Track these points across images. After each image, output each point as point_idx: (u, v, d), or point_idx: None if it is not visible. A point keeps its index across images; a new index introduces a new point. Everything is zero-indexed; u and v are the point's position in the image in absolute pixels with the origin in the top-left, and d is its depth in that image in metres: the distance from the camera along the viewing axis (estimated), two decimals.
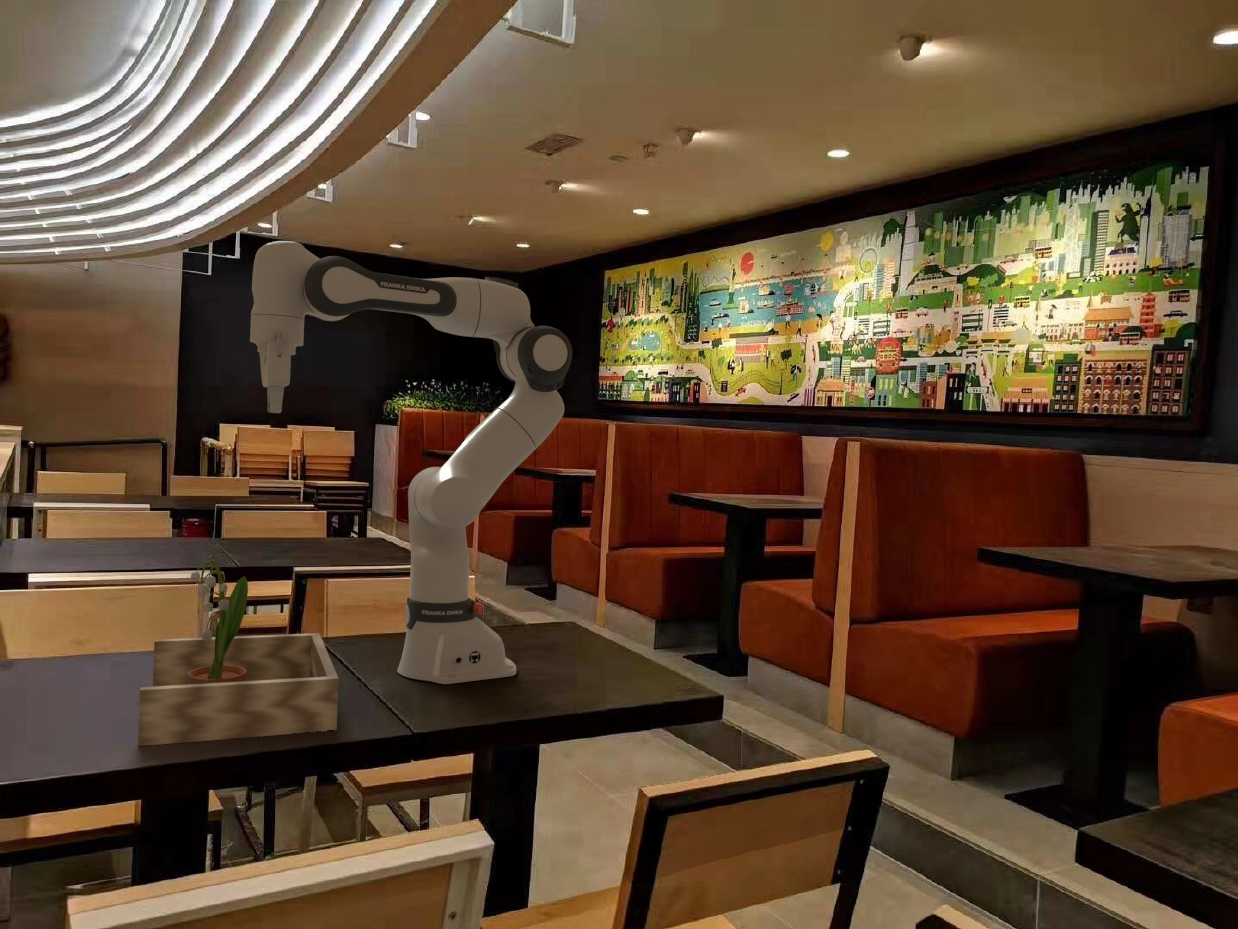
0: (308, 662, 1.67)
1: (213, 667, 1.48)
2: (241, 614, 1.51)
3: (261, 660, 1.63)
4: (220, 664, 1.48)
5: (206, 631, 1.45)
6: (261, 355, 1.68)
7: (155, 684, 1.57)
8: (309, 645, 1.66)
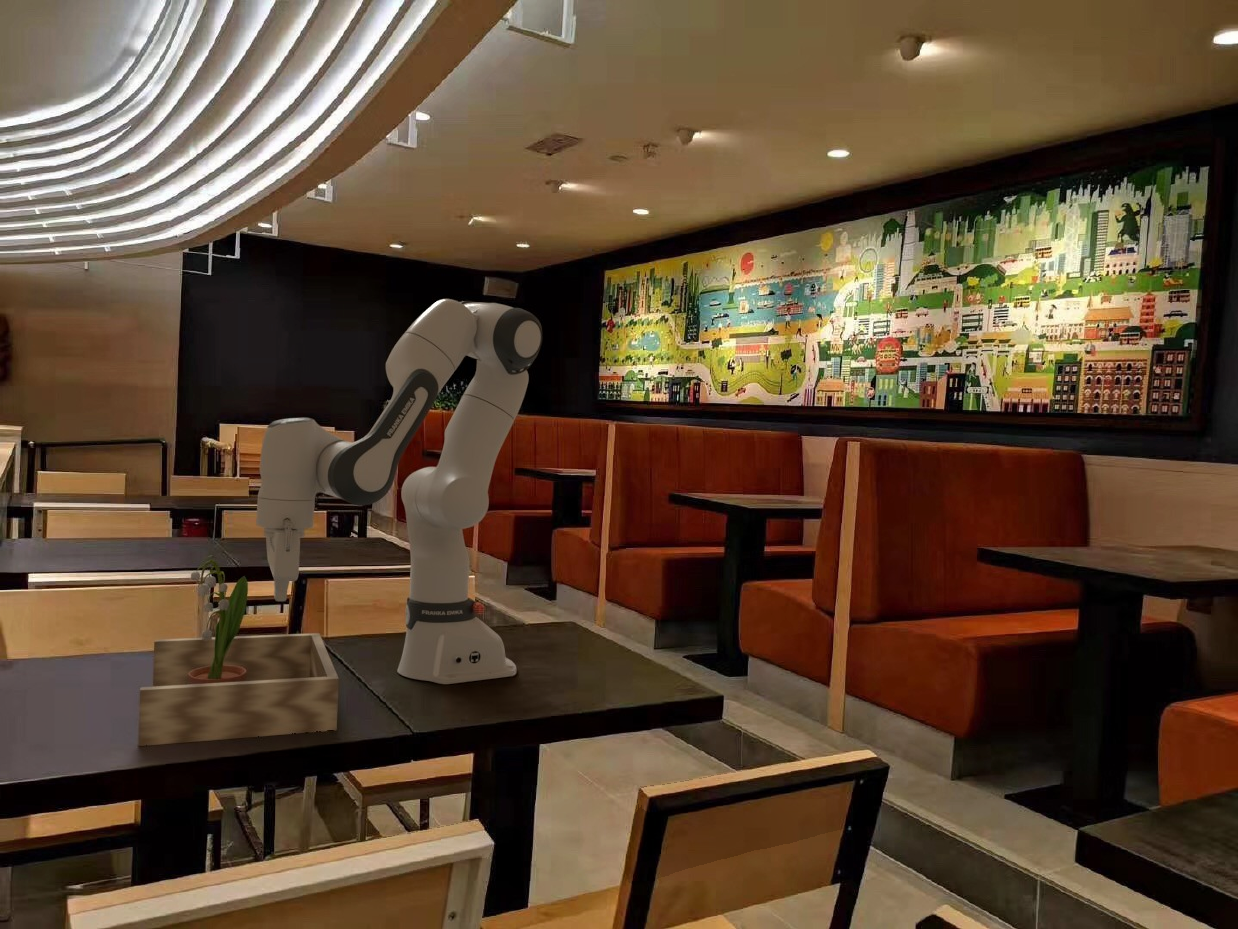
0: (308, 662, 1.67)
1: (213, 667, 1.48)
2: (241, 614, 1.51)
3: (261, 660, 1.63)
4: (220, 664, 1.48)
5: (206, 631, 1.45)
6: None
7: (155, 684, 1.57)
8: (309, 645, 1.66)
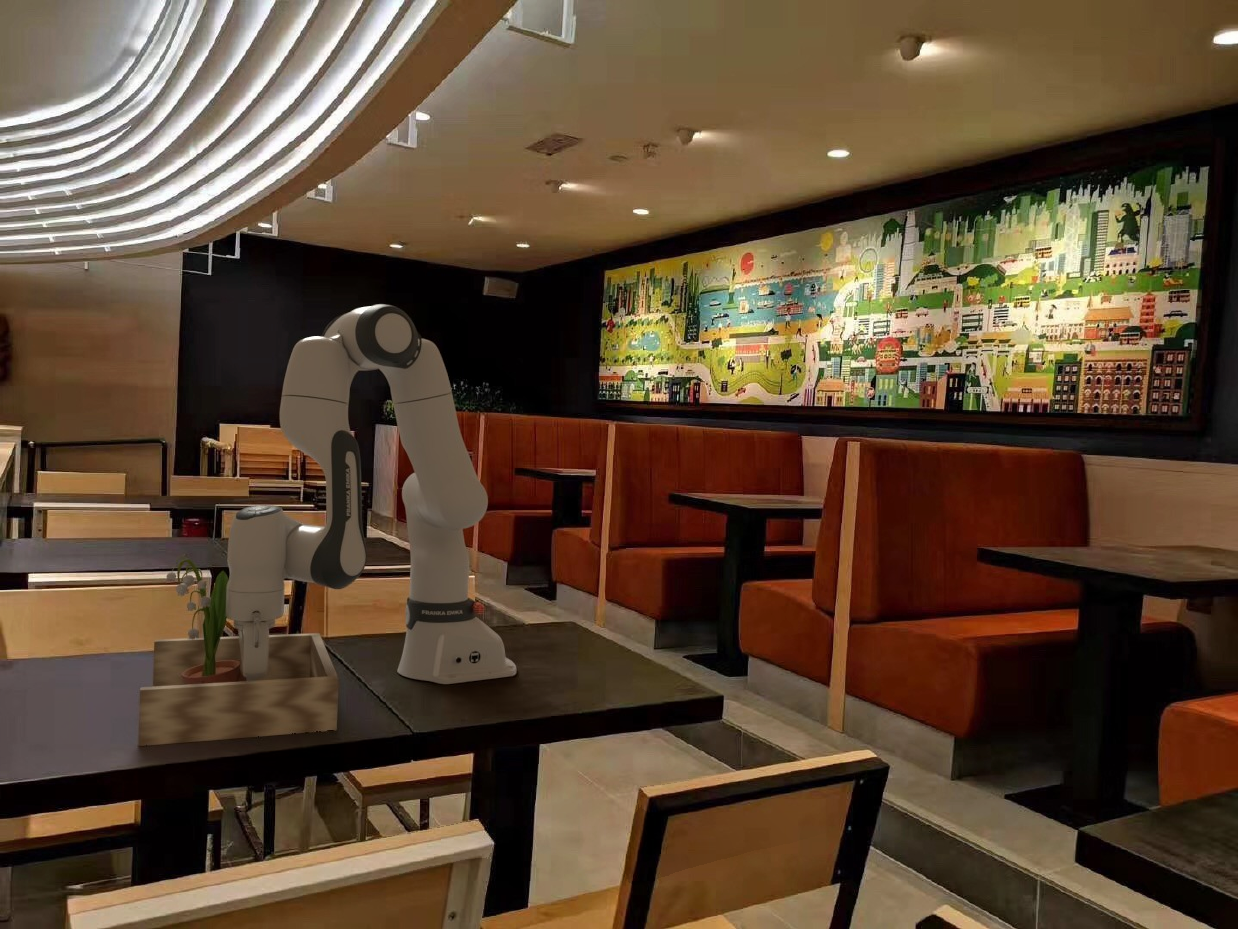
0: (308, 662, 1.67)
1: (206, 664, 1.47)
2: None
3: None
4: (212, 660, 1.48)
5: (192, 630, 1.44)
6: None
7: (155, 684, 1.57)
8: (309, 645, 1.66)
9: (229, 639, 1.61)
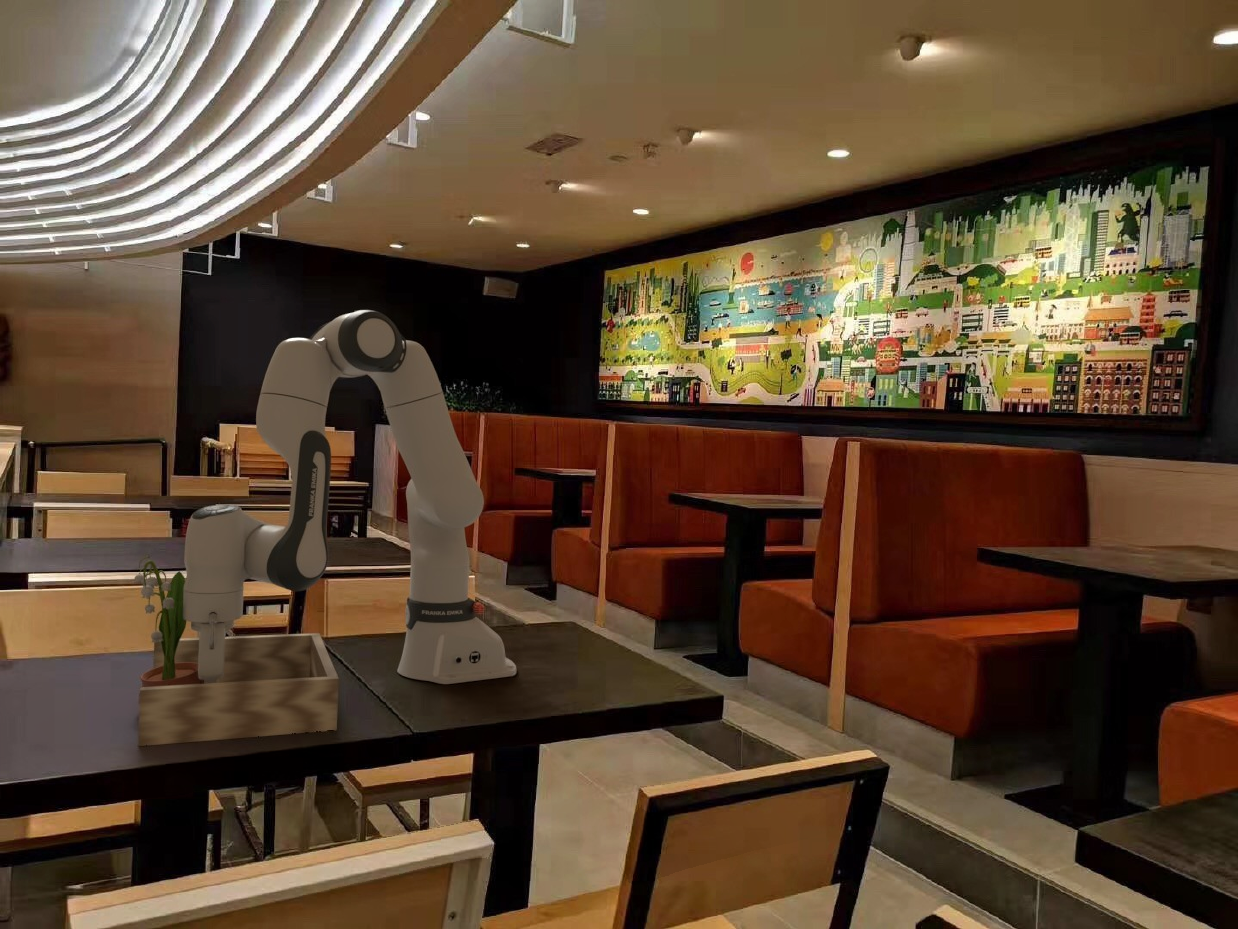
0: (308, 662, 1.67)
1: (166, 667, 1.45)
2: None
3: (261, 660, 1.63)
4: (173, 663, 1.45)
5: (156, 632, 1.41)
6: None
7: None
8: (309, 645, 1.66)
9: (229, 639, 1.61)
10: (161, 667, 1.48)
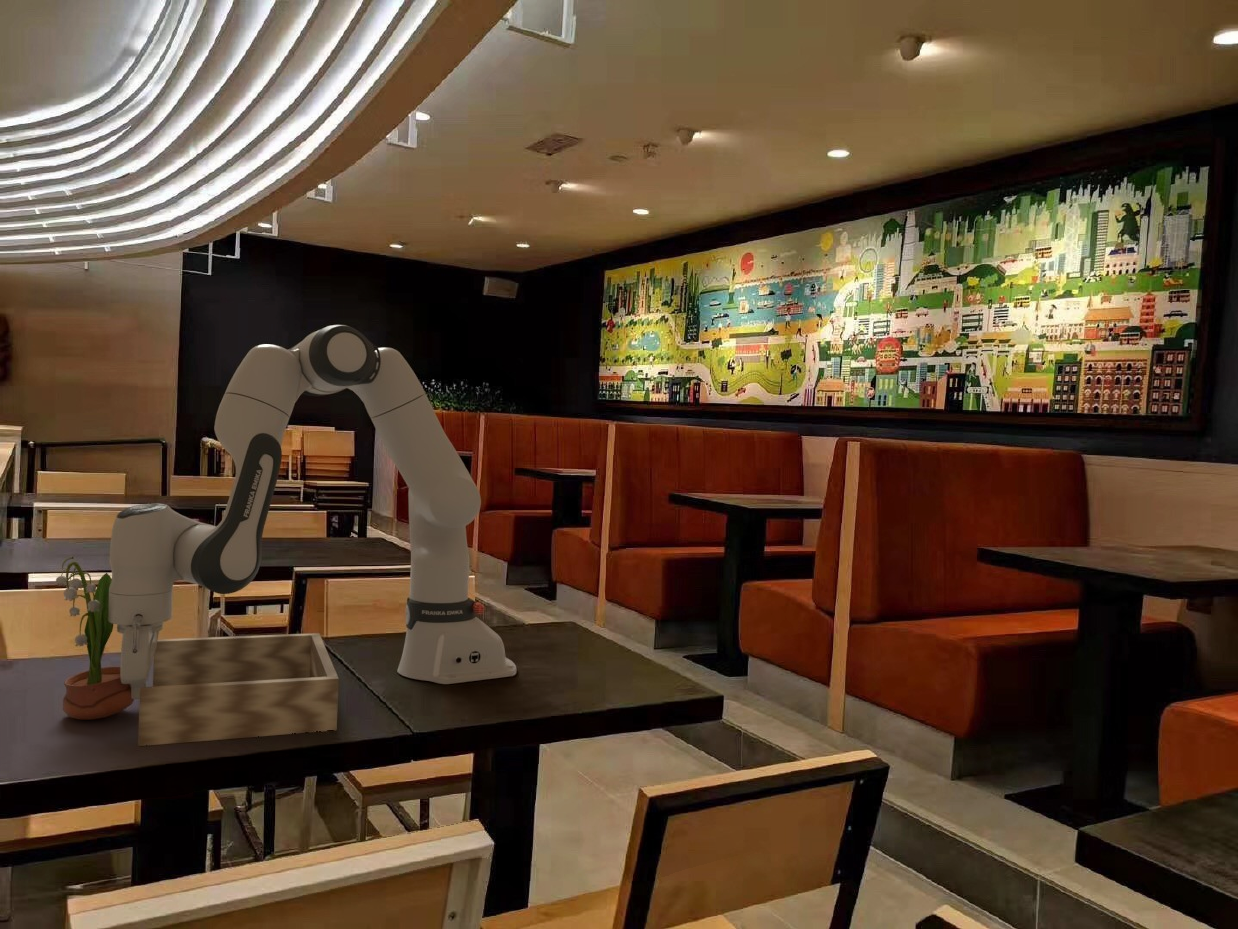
0: (308, 662, 1.67)
1: (91, 672, 1.40)
2: None
3: (261, 660, 1.63)
4: (99, 667, 1.41)
5: (80, 636, 1.37)
6: None
7: (155, 684, 1.57)
8: (309, 645, 1.66)
9: (229, 639, 1.61)
10: (87, 672, 1.44)
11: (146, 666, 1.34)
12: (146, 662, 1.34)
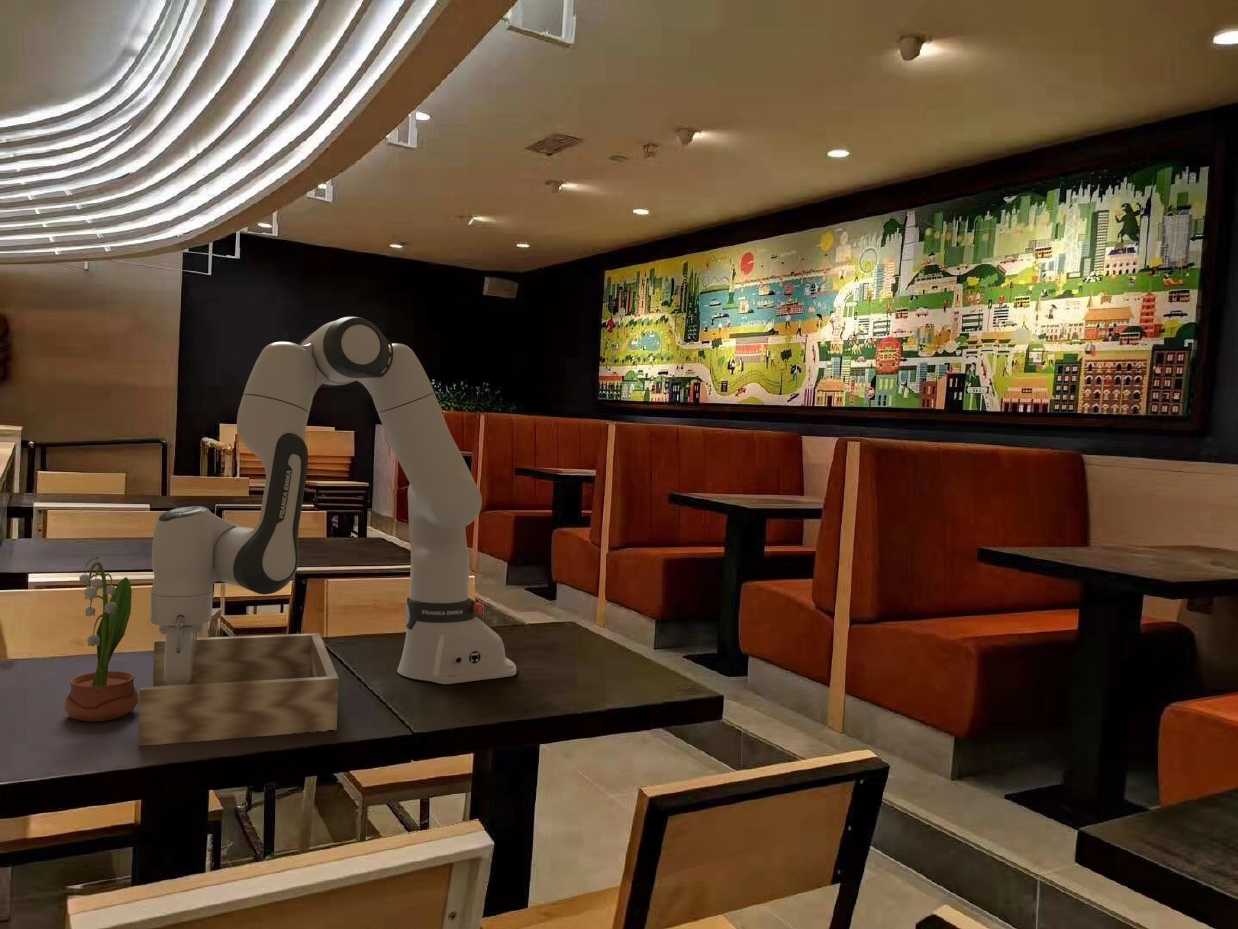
0: (308, 662, 1.67)
1: (98, 673, 1.41)
2: (125, 617, 1.45)
3: (261, 660, 1.63)
4: (106, 670, 1.42)
5: (93, 636, 1.38)
6: None
7: (155, 684, 1.57)
8: (309, 645, 1.66)
9: (229, 639, 1.61)
10: (93, 674, 1.44)
11: (189, 666, 1.37)
12: (189, 662, 1.37)
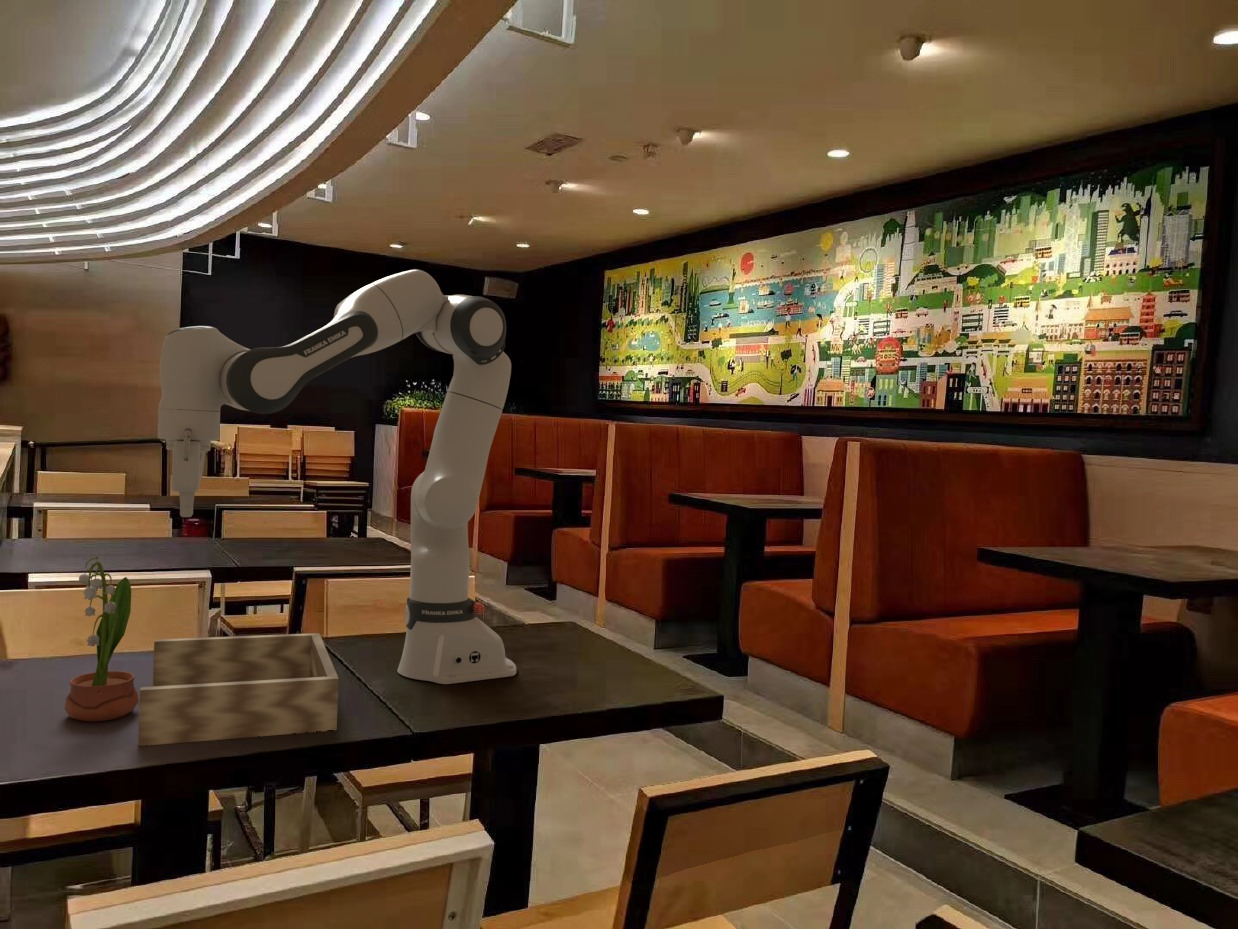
0: (308, 662, 1.67)
1: (98, 673, 1.41)
2: (125, 616, 1.45)
3: (261, 660, 1.63)
4: (106, 670, 1.42)
5: (93, 636, 1.38)
6: None
7: (155, 684, 1.57)
8: (309, 645, 1.66)
9: (229, 639, 1.61)
10: (93, 674, 1.44)
11: (197, 474, 1.36)
12: (197, 470, 1.36)
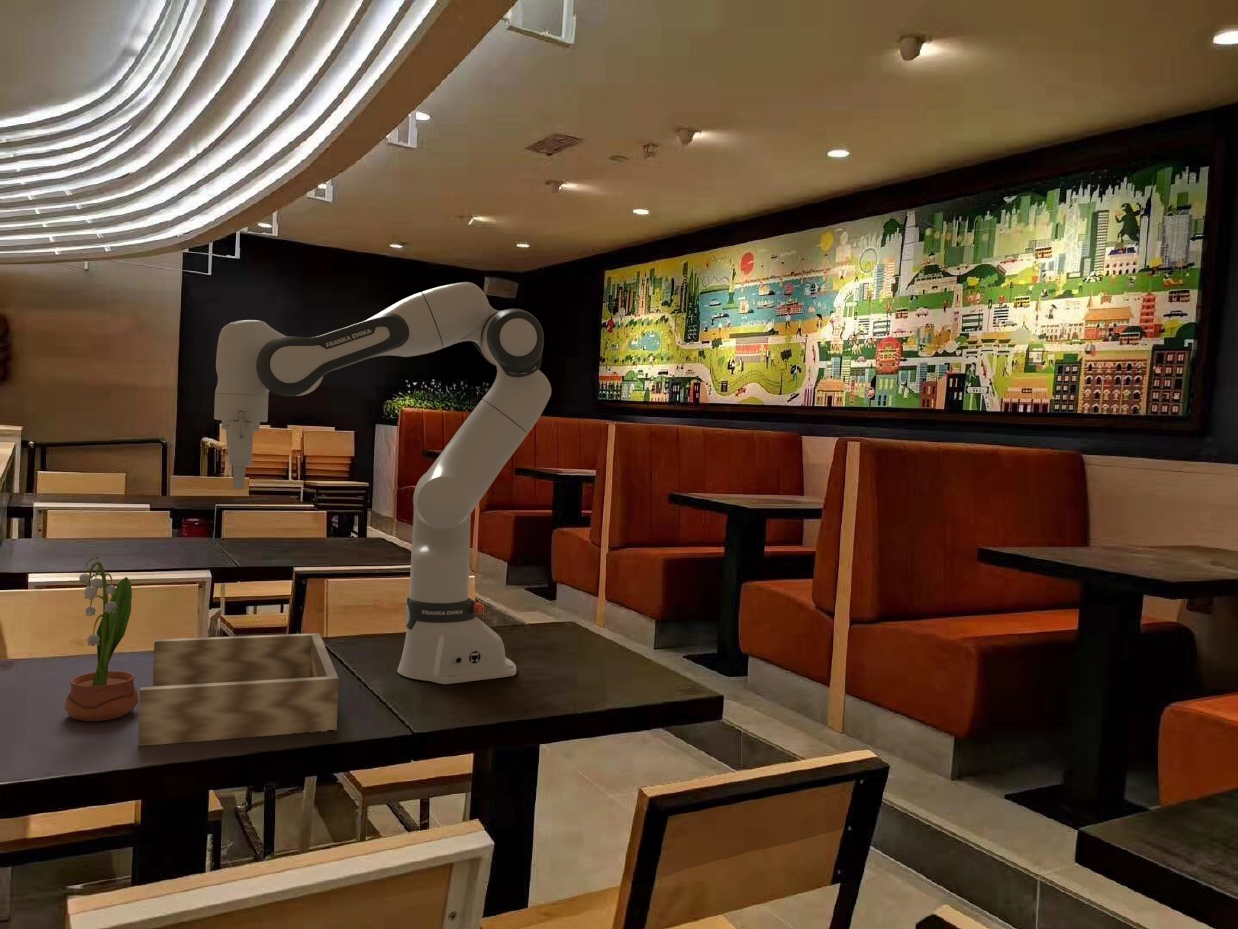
0: (308, 662, 1.67)
1: (98, 673, 1.41)
2: (125, 616, 1.45)
3: (261, 660, 1.63)
4: (106, 670, 1.42)
5: (93, 636, 1.38)
6: None
7: (155, 684, 1.57)
8: (309, 645, 1.66)
9: (229, 639, 1.61)
10: (93, 674, 1.44)
11: (251, 450, 1.55)
12: (251, 447, 1.55)
